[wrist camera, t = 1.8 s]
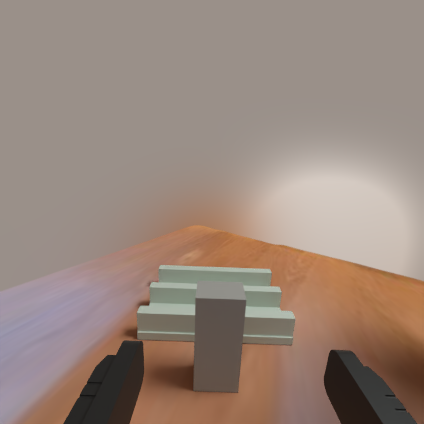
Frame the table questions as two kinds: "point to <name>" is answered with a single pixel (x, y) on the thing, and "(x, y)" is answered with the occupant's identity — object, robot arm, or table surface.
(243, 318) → the grey rectangular block
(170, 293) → the pale green ridged block
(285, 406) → the table surface
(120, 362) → the robot arm
